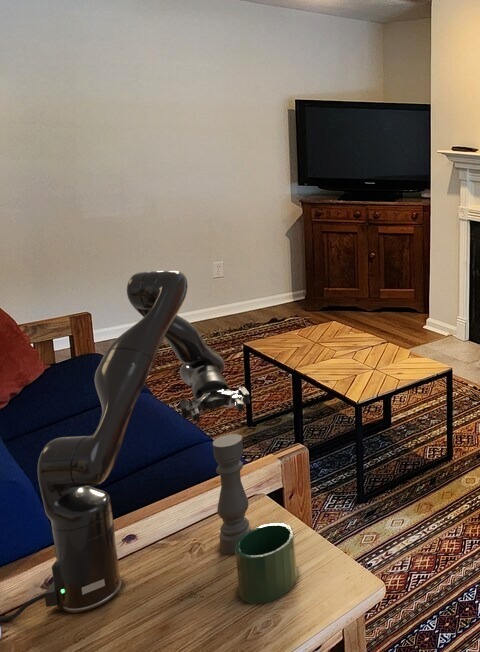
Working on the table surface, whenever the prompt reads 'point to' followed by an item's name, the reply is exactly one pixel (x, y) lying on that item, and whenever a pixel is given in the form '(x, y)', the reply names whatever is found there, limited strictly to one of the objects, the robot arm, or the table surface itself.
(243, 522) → the candle holder
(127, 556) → the table surface
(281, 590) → the pot
